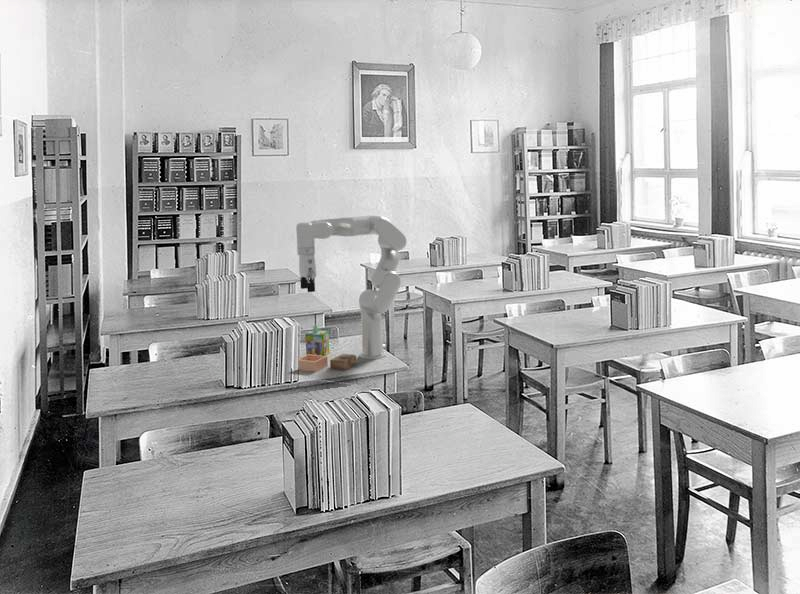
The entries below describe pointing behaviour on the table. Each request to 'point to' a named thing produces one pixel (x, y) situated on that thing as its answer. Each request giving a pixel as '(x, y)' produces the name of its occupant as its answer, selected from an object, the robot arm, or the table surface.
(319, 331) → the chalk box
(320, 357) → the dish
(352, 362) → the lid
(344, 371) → the mat
